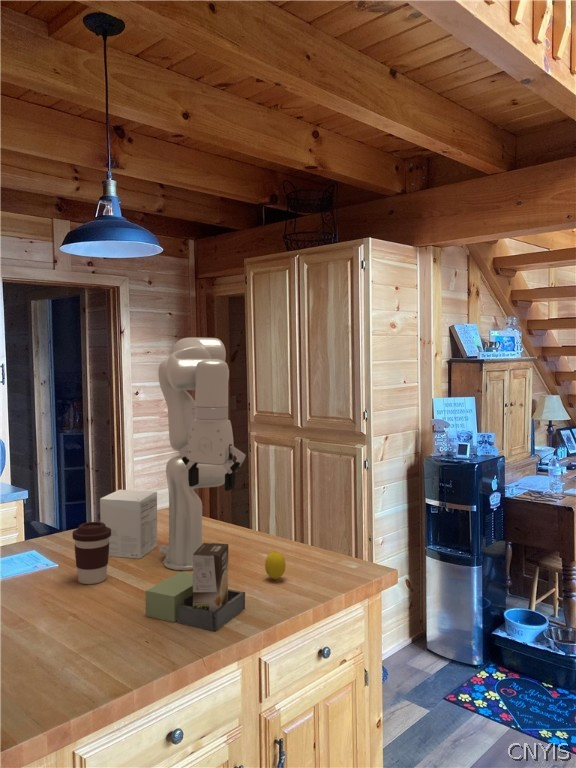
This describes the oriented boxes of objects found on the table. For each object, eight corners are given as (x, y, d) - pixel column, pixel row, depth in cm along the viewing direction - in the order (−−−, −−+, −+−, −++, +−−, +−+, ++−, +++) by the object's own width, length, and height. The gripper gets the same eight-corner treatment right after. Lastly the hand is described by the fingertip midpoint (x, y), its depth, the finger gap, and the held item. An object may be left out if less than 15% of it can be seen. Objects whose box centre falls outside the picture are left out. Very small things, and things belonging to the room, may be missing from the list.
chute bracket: (178, 622, 142) (178, 605, 141) (210, 601, 154) (210, 585, 154) (215, 631, 137) (215, 613, 137) (245, 608, 150) (245, 592, 150)
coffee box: (219, 625, 140) (219, 555, 140) (191, 623, 141) (192, 554, 140) (228, 609, 149) (228, 543, 149) (202, 607, 150) (202, 541, 149)
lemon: (283, 584, 166) (283, 554, 165) (262, 582, 167) (263, 553, 166) (287, 577, 171) (287, 548, 171) (267, 575, 172) (267, 546, 172)
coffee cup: (119, 576, 170) (119, 522, 169) (93, 589, 161) (93, 532, 160) (91, 571, 174) (90, 518, 173) (64, 582, 165) (64, 527, 164)
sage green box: (145, 615, 145) (145, 590, 145) (180, 594, 158) (180, 571, 158) (175, 622, 142) (175, 596, 141) (208, 600, 154) (208, 576, 154)
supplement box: (158, 545, 197) (158, 491, 196) (140, 559, 184) (140, 501, 183) (119, 542, 200) (119, 488, 199) (99, 555, 187) (98, 498, 186)
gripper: (171, 413, 144) (171, 486, 145) (236, 417, 136) (235, 495, 137) (189, 410, 150) (189, 480, 151) (252, 414, 143) (252, 488, 144)
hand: (211, 487), depth 144 cm, fingers open, 9 cm apart
